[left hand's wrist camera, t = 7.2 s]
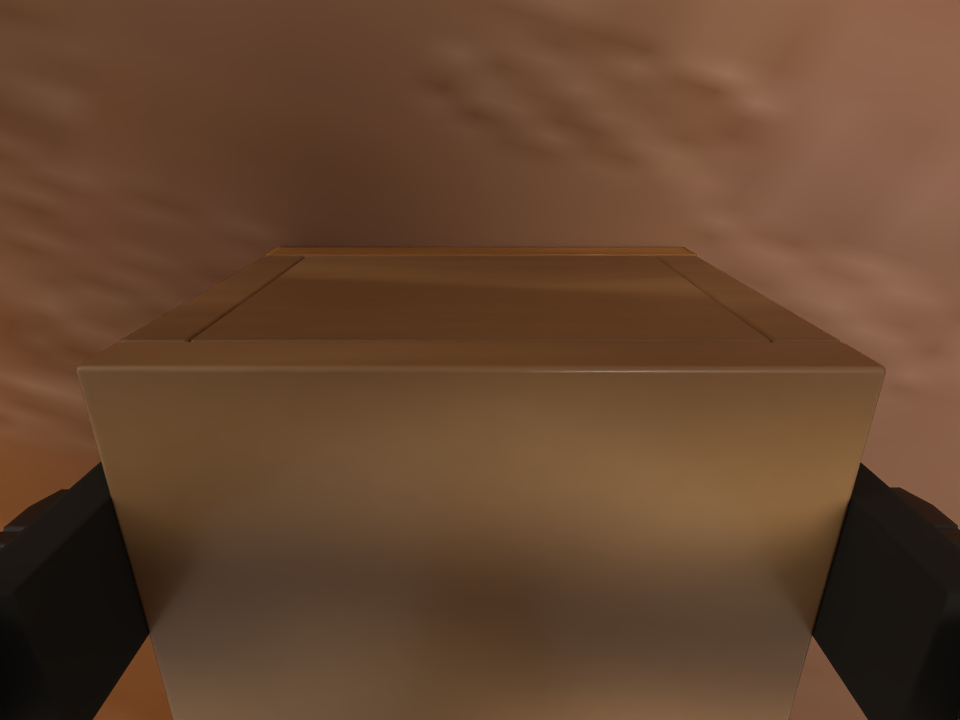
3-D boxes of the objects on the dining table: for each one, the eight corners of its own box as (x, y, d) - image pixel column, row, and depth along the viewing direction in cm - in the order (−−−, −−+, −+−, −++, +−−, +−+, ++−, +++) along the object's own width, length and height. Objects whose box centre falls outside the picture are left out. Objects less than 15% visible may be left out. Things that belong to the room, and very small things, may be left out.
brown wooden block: (619, 750, 23) (691, 1074, 15) (342, 749, 23) (270, 1072, 15) (684, 247, 16) (891, 365, 8) (277, 247, 16) (69, 365, 8)
